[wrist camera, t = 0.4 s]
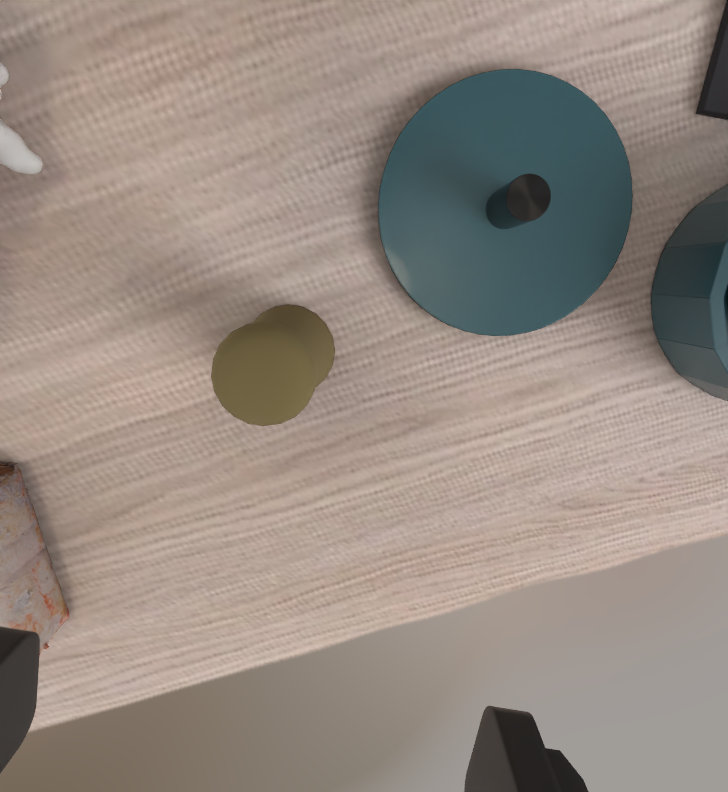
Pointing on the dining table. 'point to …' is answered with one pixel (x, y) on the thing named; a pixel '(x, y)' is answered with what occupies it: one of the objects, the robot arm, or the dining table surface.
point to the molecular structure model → (15, 144)
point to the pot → (696, 296)
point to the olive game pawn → (273, 365)
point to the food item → (26, 565)
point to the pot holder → (717, 76)
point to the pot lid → (505, 202)
